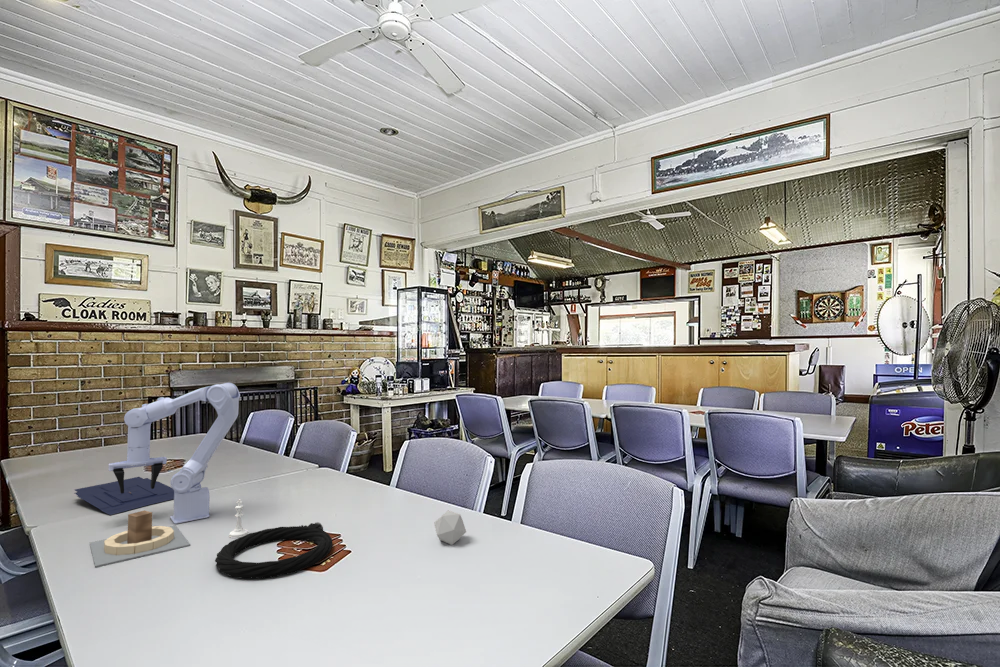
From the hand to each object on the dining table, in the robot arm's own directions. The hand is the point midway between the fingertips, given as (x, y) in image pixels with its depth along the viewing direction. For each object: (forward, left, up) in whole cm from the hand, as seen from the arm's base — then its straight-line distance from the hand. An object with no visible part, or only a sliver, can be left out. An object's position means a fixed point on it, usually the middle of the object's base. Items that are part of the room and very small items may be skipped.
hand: (137, 490), depth 154 cm
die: (-62, +79, -10) cm, 101 cm away
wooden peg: (+2, +24, -9) cm, 26 cm away
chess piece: (-20, +34, -10) cm, 41 cm away
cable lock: (-24, +56, -10) cm, 62 cm away
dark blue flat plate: (-1, -29, -10) cm, 31 cm away
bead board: (+2, +24, -9) cm, 26 cm away
